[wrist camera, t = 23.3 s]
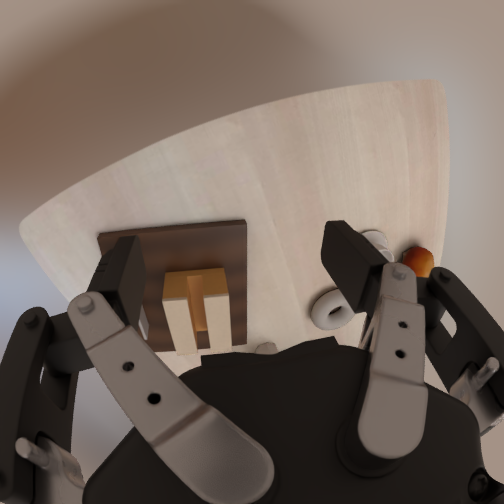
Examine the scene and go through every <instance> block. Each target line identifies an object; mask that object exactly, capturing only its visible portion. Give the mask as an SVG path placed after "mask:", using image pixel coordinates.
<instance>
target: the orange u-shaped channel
mask: <svg viewBox="0 0 504 504" xmlns="http://www.w3.org/2000/svg"><path fill="white" fill-rule="evenodd" d="M162 303H163V307H164V311H165V314H166V318H167V322H168V325H169V329H170V332H171V336H172V339H173V343H174V346H175V349H176V353H177V355H192V354H198V348H197V331H205V330H208V334H209V341H210V347H211V353H215V352H225V351H232V340H231V324H230V306H229V294H228V288H227V282H226V277H225V271H224V268H214V269H203V270H191V271H180V272H168V273H165V280H164V289H163V298H162Z"/></svg>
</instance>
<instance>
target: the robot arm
mask: <svg viewBox="0 0 504 504" xmlns="http://www.w3.org/2000/svg"><path fill="white" fill-rule="evenodd" d="M321 260H322V264H323V266H324V267H325V269H326V270H327V272H328V273H329V275H330V276H331V278H332V279H333V281H334V282H335V284H336V285H337V287H338V288H339V290H340V291H341V293H342V295H343V296H344V298H345V299H346V301H347V302H348V304H349V305H350V307H351V309H352V310H353V312H354V313H355V314H356V313H361V312H366V313H367V315H366V318H365V321H364V325H363V329H362V334H361V338H360V342H359V346H358V348H357V347H352V346H346V345H338V343H337V341H336V339H335V337H334V336H331V337H326V338H321V339H316V340H311V341H305V342H302V343H300V344H298V345H295V346H293V347H291V348H288V349H286V350H283V351H281V352H278V353H275V354H254V353H241V352H232V353H222V354H212V355H201V365H202V366H199V367H196V368H193V369H191V370H189V371H187V372H185V373H183V374H181V375H180V376H179V377H177V376H176V375H175V374H174V373H173V372H172V371H171V370H170V369H169V368H168V367H167V366H166V364H165V363H164V362H163V361H162V360H161V359H160V358H159V357H158V356H157V355H156V354H155V353H154V351H153V350H152V349H151V348H150V347H149V346H148V345H147V344H146V342H145V341H144V340H143V339H142V338H141V337H140V335H139V334H138V333H137V331H138V325H139V318H140V312H141V306H142V301H143V295H144V290H145V285H146V267H145V263H144V258H143V254H142V249H141V244H140V240H139V237H138V235H130V236H121V237H120V238H119V240H118V242H117V244H116V246H115V249H109V250H108V251H107V252H106V253H105V254H104V255H103V256H102V257H101V260H100V262H99V264H98V266H97V268H96V270H95V273H94V275H93V277H92V280H91V282H90V284H89V287H88V289H87V291H86V292H85V293H82V294H80V295H78V296H76V297H75V298H74V299H73V300H72V301H71V302H70V304H69V306H68V309H67V312H65V313H62V314H58V315H55V316H51V317H49V315H48V313H47V311H46V310H45V309H44V308H42V307H33V308H31V309H29V310H27V311H25V312H24V313H23V314H22V315H21V316H20V318H19V319H18V321H17V323H16V326H15V328H14V330H13V333H12V335H11V338H10V340H9V342H8V345H7V348H6V351H5V353H4V356H3V359H2V362H1V364H0V502H2V503H5V504H504V484H502V483H500V482H498V481H496V480H494V479H493V478H492V477H490V476H489V474H488V473H487V471H486V469H485V467H484V463H483V458H482V452H481V443H480V436H483V435H484V434H486V433H487V432H488V431H489V430H491V429H492V428H493V427H495V426H496V425H497V424H498V423H499V422H501V421H502V420H503V419H504V331H503V330H502V329H501V327H500V326H499V325H498V324H497V322H496V321H495V320H494V319H493V317H492V316H491V315H490V314H489V313H488V311H487V310H486V309H485V308H484V306H483V305H482V304H481V303H480V302H479V301H478V300H477V298H476V297H475V296H474V295H473V294H472V293H471V291H470V290H468V288H467V287H466V286H465V285H464V284H463V283H462V282H461V281H460V279H459V278H458V277H457V276H456V275H455V274H454V273H452V272H451V271H450V270H448V269H445V268H442V267H434V268H432V269H431V272H430V274H429V277H418V276H416V275H415V273H414V271H413V270H412V269H411V268H409V267H408V266H406V265H404V264H401V263H398V262H389V261H388V260H387V259H386V258H385V257H384V256H383V255H382V254H381V252H380V251H379V250H378V249H377V248H375V246H374V245H373V244H372V243H370V241H369V240H368V239H367V238H366V237H365V236H364V235H362V234H360V233H358V232H357V231H355V230H353V229H352V228H351V227H350V226H349V225H348V224H347V223H346V222H345V221H344V220H338V221H327V222H326V225H325V229H324V236H323V242H322V248H321ZM445 310H447V311H448V313H449V314H450V315H451V316H452V318H453V319H454V320H455V322H456V326H457V330H456V333H455V335H454V336H453V338H452V337H451V335H450V334H449V333H448V331H447V330H446V328H445V327H444V326H443V324H442V323H441V321H440V319H441V318H442V316H443V314H444V312H445ZM425 353H426V355H427V356H428V358H429V360H430V361H431V363H432V365H433V366H434V368H435V370H436V371H437V373H438V375H439V377H440V379H441V380H442V382H443V384H444V386H445V388H446V389H447V391H448V393H449V394H447V393H445V392H443V391H441V390H439V389H437V388H435V387H433V386H431V385H429V384H427V383H425V382H424V366H425V365H424V364H425ZM42 367H44V371H43V375H42V379H41V383H40V374H41V371H42ZM93 367H95V368H96V370H97V372H98V373H99V375H100V376H101V378H102V380H103V381H104V383H105V385H106V386H107V388H108V389H109V390H110V392H111V394H112V395H113V397H114V398H115V400H116V401H117V402H118V404H119V405H120V407H121V408H122V410H123V411H124V412H125V414H126V415H127V417H128V418H129V419H130V421H131V422H132V423H133V424H134V427H133V428H132V429H131V430H130V431H129V433H128V434H127V435H126V436H125V437H124V439H123V440H122V441H121V442H120V443H119V445H118V446H117V447H116V448H115V449H114V450H113V451H112V453H111V454H110V455H109V456H108V457H107V458H106V459H105V461H104V462H103V463H102V464H101V465H100V466H99V468H98V469H97V470H96V471H95V472H94V473H93V474H92V476H91V477H90V478H89V480H88V481H87V483H86V484H85V482H84V480H83V475H82V473H81V468H80V465H79V463H78V461H77V459H76V458H75V457H74V456H73V455H72V454H71V436H72V422H73V411H74V402H75V395H76V388H77V381H78V375H79V371H83V370H86V369H90V368H93Z"/></svg>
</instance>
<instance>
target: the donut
mask: <svg viewBox="0 0 504 504" xmlns="http://www.w3.org/2000/svg"><path fill="white" fill-rule="evenodd" d="M339 306H341V308H340V309H339V310H338V311H337V312H335V313H333V314H329V313H330V311H332V310H333V309H335V308H336V307H339ZM354 315H355V313H354V312H353V310H352V309H351V307H350V305H349V304H348V302H347V301H346V299H345V298H344V296H343V295H342V293H341V291H340V290H339V289H336V290H333V291H330V292H328V293H326V294H324V295H323V296H322V297H321V298H319V299H318V300H317V302H316V303H315V305H314V306H313V309H312V312H311V319H312V321H313V323H314V325H315V326H316V327H318V328H320V329H321V330H335V329H338V328H340V327H342V326H344V325H346V324H347V323H348V322H349V321H350V320H351V319H352V318H353V317H354Z"/></svg>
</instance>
